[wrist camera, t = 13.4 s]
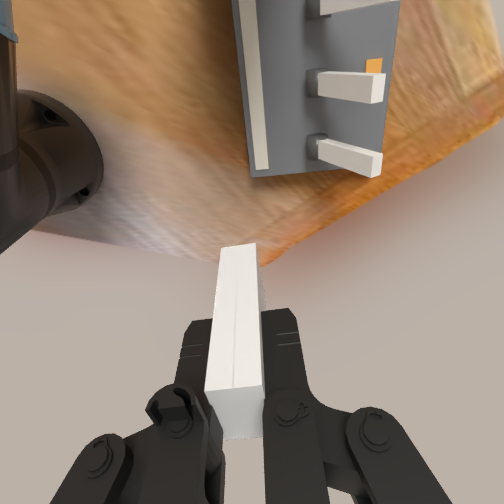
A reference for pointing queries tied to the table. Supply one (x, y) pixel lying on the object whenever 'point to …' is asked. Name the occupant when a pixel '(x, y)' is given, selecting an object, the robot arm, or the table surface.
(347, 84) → the lever
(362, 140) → the breaker panel
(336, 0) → the lever
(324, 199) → the table surface
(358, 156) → the lever
